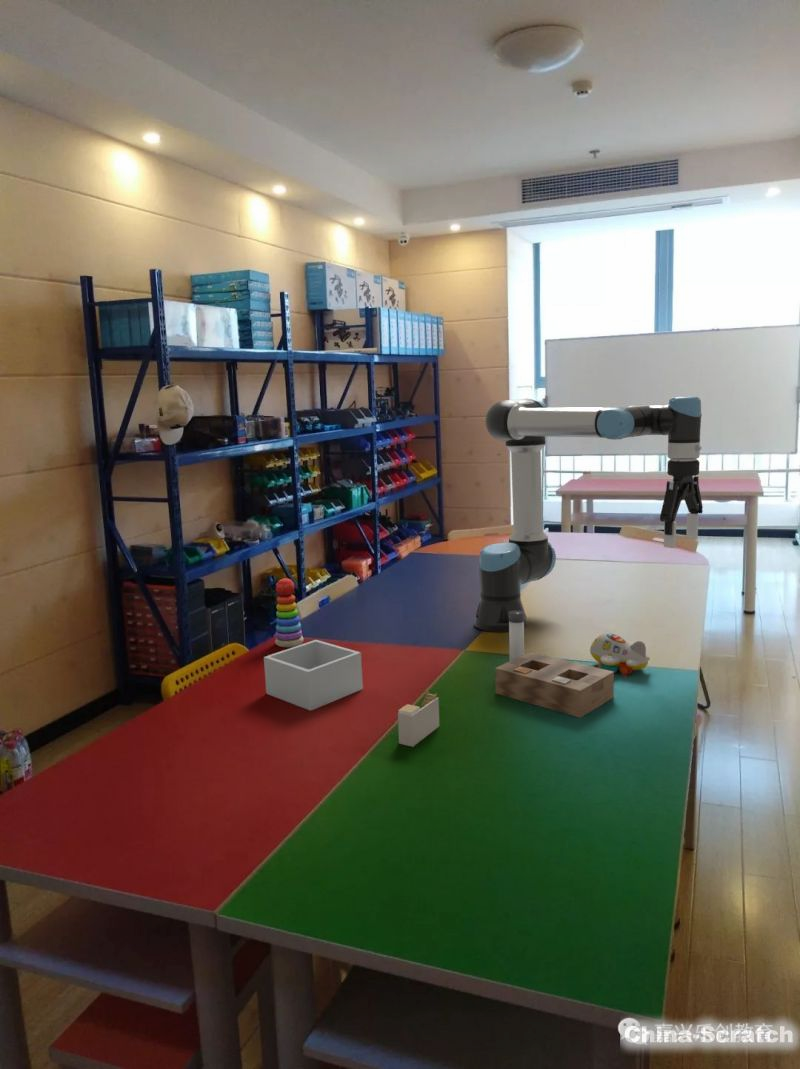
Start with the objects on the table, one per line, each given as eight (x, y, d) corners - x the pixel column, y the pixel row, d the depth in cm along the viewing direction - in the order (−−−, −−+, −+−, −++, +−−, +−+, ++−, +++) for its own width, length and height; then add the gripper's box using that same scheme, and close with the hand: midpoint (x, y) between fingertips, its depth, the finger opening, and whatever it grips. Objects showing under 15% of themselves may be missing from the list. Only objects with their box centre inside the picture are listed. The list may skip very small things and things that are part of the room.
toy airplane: (634, 650, 181) (578, 633, 191) (631, 685, 183) (575, 667, 193) (662, 636, 190) (607, 621, 200) (658, 670, 192) (604, 654, 202)
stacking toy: (309, 640, 223) (305, 576, 219) (293, 649, 216) (289, 583, 212) (285, 638, 226) (281, 574, 223) (269, 646, 219) (265, 581, 216)
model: (399, 745, 156) (397, 709, 155) (426, 725, 165) (424, 690, 164) (412, 748, 155) (411, 712, 153) (439, 728, 164) (438, 693, 162)
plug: (506, 667, 196) (505, 613, 193) (515, 663, 198) (514, 609, 196) (518, 670, 193) (518, 615, 191) (527, 666, 196) (527, 612, 193)
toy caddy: (266, 693, 185) (263, 657, 183) (318, 674, 196) (316, 639, 195) (310, 710, 174) (308, 671, 172) (362, 689, 185) (360, 652, 184)
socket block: (495, 693, 180) (495, 666, 179) (530, 675, 190) (530, 650, 188) (580, 717, 165) (580, 689, 164) (613, 697, 175) (613, 670, 173)
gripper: (677, 464, 185) (674, 553, 189) (717, 455, 203) (714, 536, 207) (646, 463, 190) (644, 549, 194) (689, 454, 208) (686, 533, 212)
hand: (681, 542), depth 200 cm, fingers open, 13 cm apart
